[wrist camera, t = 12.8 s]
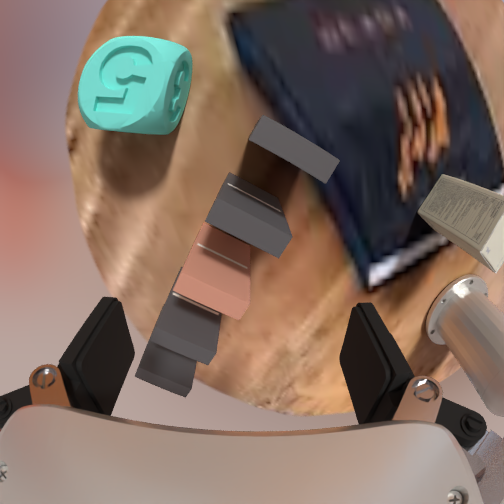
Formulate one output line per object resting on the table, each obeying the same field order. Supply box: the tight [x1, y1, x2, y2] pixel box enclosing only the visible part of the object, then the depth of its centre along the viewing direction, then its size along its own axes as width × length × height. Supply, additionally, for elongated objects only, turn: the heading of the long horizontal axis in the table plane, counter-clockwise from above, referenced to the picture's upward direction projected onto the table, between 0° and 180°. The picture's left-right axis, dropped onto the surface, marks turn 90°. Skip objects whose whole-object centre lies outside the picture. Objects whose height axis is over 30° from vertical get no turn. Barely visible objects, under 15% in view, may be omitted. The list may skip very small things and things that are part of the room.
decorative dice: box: [78, 36, 192, 135], centre depth 21 cm, size 8×8×8 cm
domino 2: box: [173, 223, 250, 320], centre depth 26 cm, size 2×6×11 cm, turn 61°
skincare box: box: [417, 174, 504, 273], centre depth 24 cm, size 6×4×12 cm
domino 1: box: [205, 172, 292, 258], centre depth 24 cm, size 2×6×11 cm, turn 62°
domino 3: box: [150, 267, 222, 365], centre depth 28 cm, size 2×6×11 cm, turn 62°
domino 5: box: [249, 115, 340, 184], centre depth 22 cm, size 2×6×11 cm, turn 61°
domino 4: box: [135, 304, 197, 397], centre depth 31 cm, size 2×6×11 cm, turn 61°
